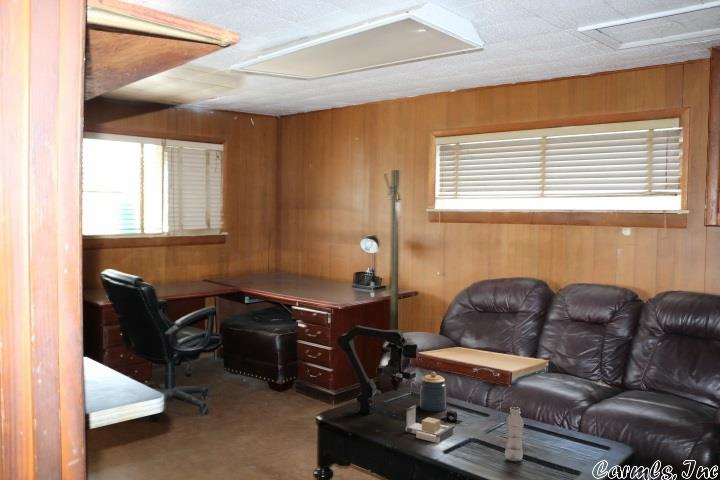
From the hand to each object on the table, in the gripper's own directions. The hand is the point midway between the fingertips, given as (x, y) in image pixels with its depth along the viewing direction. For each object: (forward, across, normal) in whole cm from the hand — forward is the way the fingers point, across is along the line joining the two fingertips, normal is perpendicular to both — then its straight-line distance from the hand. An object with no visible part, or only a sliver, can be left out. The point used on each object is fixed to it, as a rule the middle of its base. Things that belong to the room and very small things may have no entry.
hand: (395, 390), depth 279 cm
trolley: (+12, +22, -11) cm, 28 cm away
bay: (+12, +27, -11) cm, 32 cm away
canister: (+12, +8, +22) cm, 26 cm away
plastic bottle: (+12, +64, -16) cm, 67 cm away
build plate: (+13, +24, +11) cm, 29 cm away
